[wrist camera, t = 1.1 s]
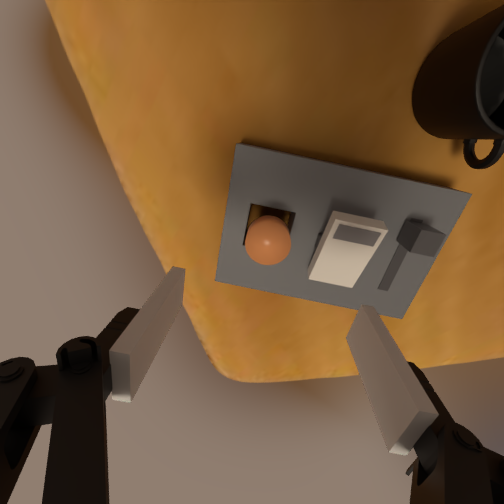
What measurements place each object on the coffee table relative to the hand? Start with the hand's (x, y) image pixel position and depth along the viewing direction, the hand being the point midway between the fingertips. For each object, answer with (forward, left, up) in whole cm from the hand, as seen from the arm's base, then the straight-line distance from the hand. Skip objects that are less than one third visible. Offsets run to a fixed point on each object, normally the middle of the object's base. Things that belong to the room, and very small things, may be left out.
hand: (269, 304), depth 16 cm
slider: (-3, +15, -14) cm, 21 cm away
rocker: (0, +8, -12) cm, 14 cm away
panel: (0, +7, -18) cm, 19 cm away
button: (0, 0, -15) cm, 15 cm away
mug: (-16, +16, -18) cm, 29 cm away
